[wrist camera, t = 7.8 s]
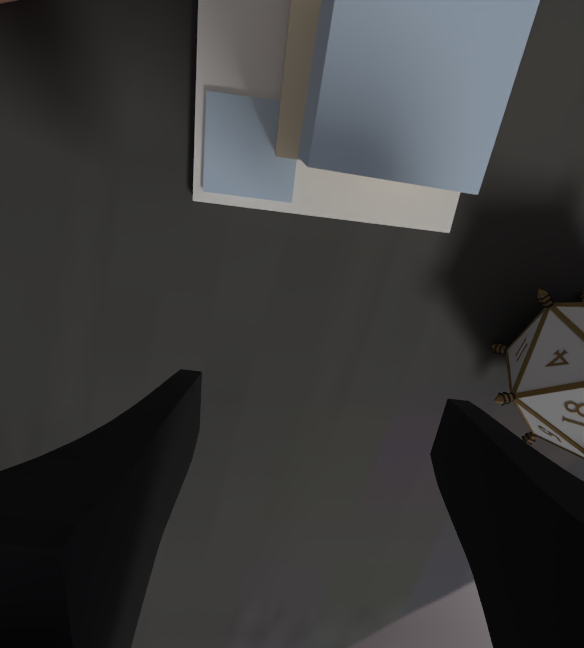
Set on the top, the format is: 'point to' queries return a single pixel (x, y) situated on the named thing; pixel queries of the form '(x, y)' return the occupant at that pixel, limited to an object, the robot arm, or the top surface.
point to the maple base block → (296, 75)
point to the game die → (549, 374)
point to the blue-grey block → (412, 87)
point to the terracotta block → (5, 0)
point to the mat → (261, 132)
